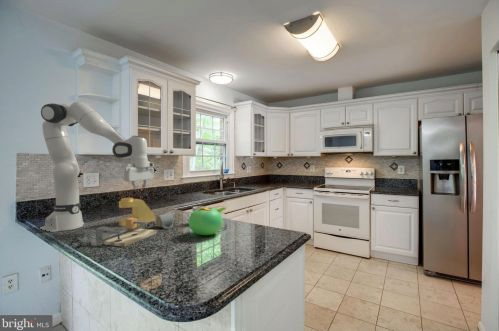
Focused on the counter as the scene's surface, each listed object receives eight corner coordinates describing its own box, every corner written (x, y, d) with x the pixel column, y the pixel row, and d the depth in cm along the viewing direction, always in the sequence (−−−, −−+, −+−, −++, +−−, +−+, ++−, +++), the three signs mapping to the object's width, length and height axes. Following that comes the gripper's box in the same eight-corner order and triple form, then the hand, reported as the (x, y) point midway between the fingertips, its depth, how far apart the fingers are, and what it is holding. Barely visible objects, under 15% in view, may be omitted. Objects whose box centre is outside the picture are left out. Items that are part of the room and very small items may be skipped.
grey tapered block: (90, 245, 112) (89, 230, 112) (132, 230, 137) (132, 217, 137) (110, 247, 108) (110, 232, 108) (150, 231, 133) (150, 219, 133)
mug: (196, 226, 142) (196, 209, 142) (186, 225, 147) (186, 208, 146) (209, 222, 152) (209, 206, 152) (199, 221, 156) (199, 205, 156)
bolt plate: (104, 244, 113) (104, 240, 113) (138, 231, 134) (138, 228, 134) (124, 246, 110) (124, 243, 110) (157, 232, 131) (156, 229, 131)
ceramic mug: (155, 226, 144) (155, 213, 143) (168, 224, 149) (168, 211, 149) (162, 230, 136) (162, 217, 136) (176, 227, 141) (176, 214, 141)
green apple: (182, 235, 125) (181, 207, 125) (204, 228, 140) (204, 202, 139) (209, 241, 116) (208, 210, 116) (230, 232, 130) (229, 205, 130)
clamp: (122, 227, 144) (121, 200, 143) (117, 224, 150) (116, 198, 150) (155, 220, 158) (154, 196, 158) (149, 218, 165) (148, 195, 164)
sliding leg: (125, 228, 132) (125, 219, 132) (131, 226, 136) (131, 217, 136) (144, 230, 128) (143, 220, 128) (149, 228, 132) (149, 218, 132)
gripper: (130, 164, 129) (130, 190, 129) (155, 163, 148) (156, 186, 148) (120, 164, 130) (121, 190, 131) (147, 164, 150) (147, 186, 150)
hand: (139, 188), depth 140 cm, fingers open, 5 cm apart
